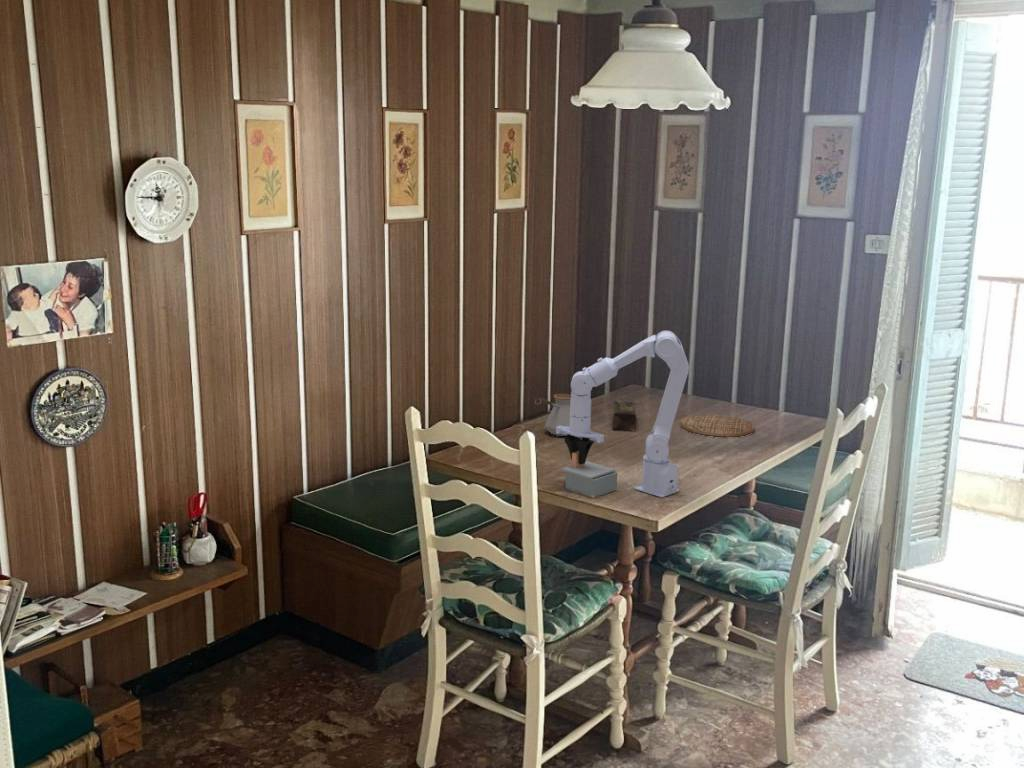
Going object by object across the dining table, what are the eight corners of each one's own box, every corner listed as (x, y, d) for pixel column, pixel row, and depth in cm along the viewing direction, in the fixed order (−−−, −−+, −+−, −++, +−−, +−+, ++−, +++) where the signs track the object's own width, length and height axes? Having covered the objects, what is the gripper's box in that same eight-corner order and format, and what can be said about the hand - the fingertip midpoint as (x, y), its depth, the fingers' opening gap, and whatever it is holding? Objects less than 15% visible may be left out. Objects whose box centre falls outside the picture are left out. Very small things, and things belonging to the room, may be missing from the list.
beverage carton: (635, 418, 357) (636, 400, 356) (635, 432, 339) (636, 413, 337) (612, 417, 358) (613, 399, 357) (611, 431, 340) (612, 412, 338)
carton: (616, 490, 279) (617, 472, 278) (593, 498, 272) (593, 480, 271) (588, 481, 286) (589, 464, 285) (565, 489, 279) (566, 471, 278)
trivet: (752, 442, 331) (752, 436, 331) (675, 434, 338) (676, 429, 337) (755, 423, 355) (756, 418, 354) (684, 417, 361) (684, 411, 361)
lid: (615, 471, 278) (616, 455, 277) (590, 479, 271) (591, 463, 270) (586, 463, 286) (587, 447, 285) (562, 470, 278) (562, 454, 277)
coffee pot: (556, 427, 342) (558, 384, 339) (586, 433, 336) (587, 389, 332) (521, 440, 325) (522, 395, 322) (551, 447, 319) (552, 401, 315)
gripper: (610, 417, 277) (608, 464, 280) (566, 408, 285) (565, 454, 288) (596, 422, 271) (594, 470, 274) (552, 412, 280) (550, 459, 283)
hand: (578, 462), depth 281 cm, fingers closed on lid, 2 cm apart
